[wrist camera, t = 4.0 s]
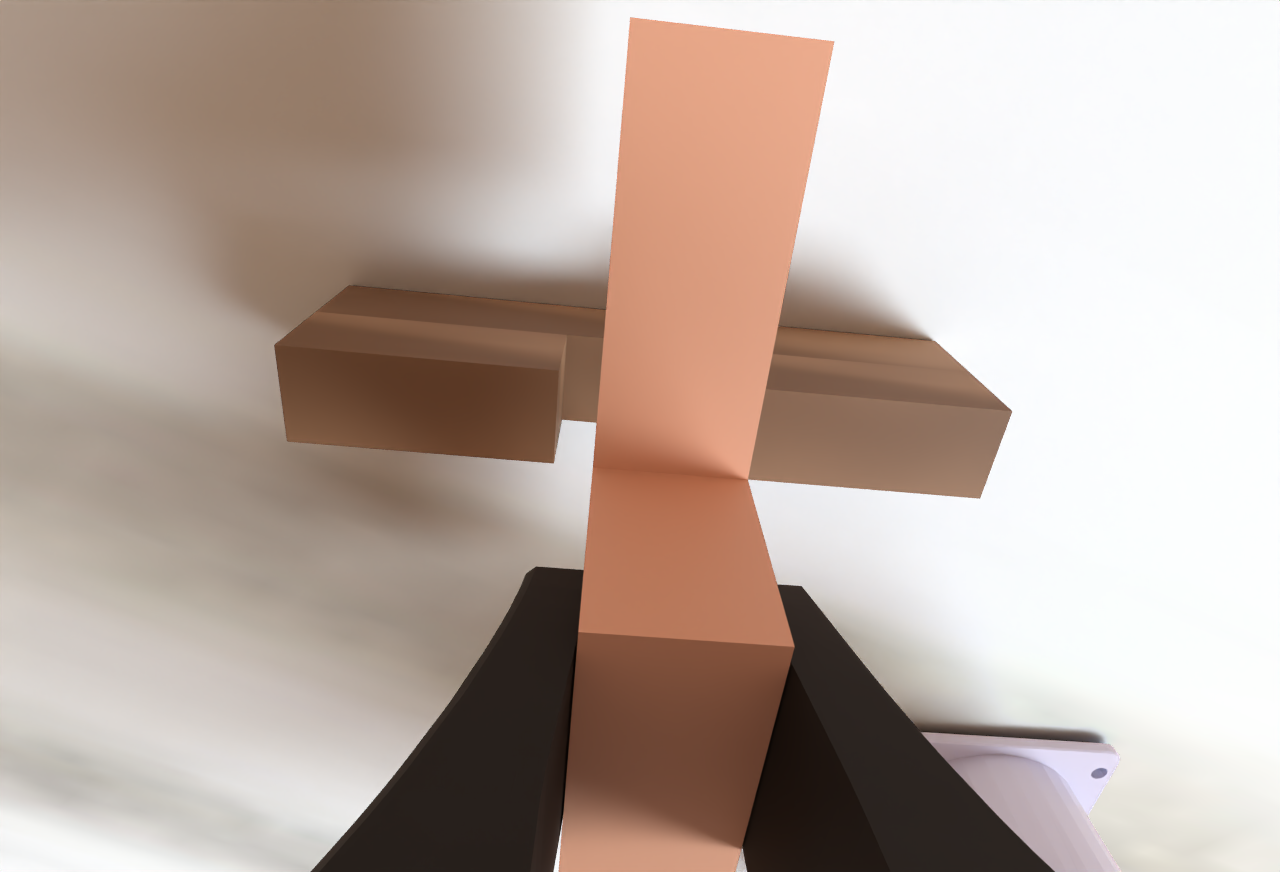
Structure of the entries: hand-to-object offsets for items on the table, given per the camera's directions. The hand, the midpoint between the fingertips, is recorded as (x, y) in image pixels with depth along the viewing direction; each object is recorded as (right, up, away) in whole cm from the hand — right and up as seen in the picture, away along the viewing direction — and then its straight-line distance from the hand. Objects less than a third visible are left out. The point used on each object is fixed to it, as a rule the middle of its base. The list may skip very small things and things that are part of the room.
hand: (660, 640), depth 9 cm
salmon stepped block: (0, +2, +5) cm, 5 cm away
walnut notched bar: (0, +5, +9) cm, 10 cm away
